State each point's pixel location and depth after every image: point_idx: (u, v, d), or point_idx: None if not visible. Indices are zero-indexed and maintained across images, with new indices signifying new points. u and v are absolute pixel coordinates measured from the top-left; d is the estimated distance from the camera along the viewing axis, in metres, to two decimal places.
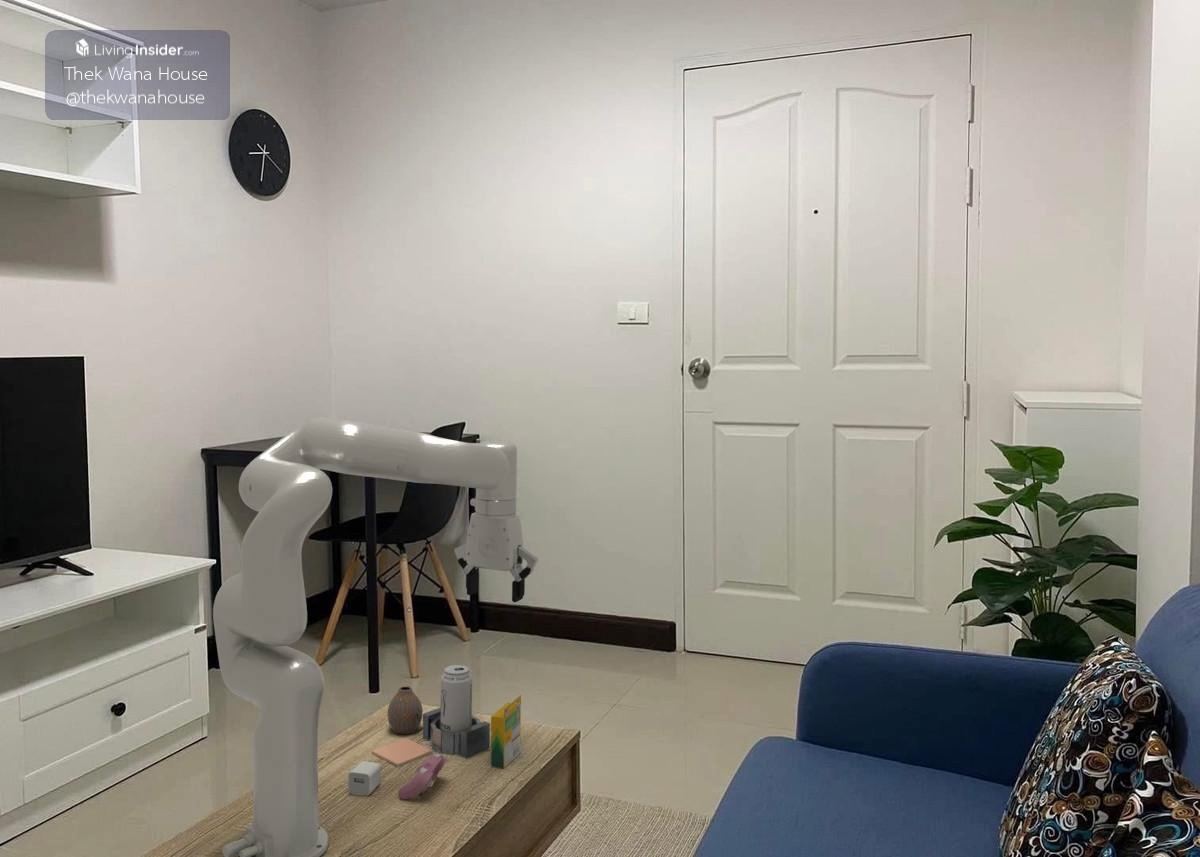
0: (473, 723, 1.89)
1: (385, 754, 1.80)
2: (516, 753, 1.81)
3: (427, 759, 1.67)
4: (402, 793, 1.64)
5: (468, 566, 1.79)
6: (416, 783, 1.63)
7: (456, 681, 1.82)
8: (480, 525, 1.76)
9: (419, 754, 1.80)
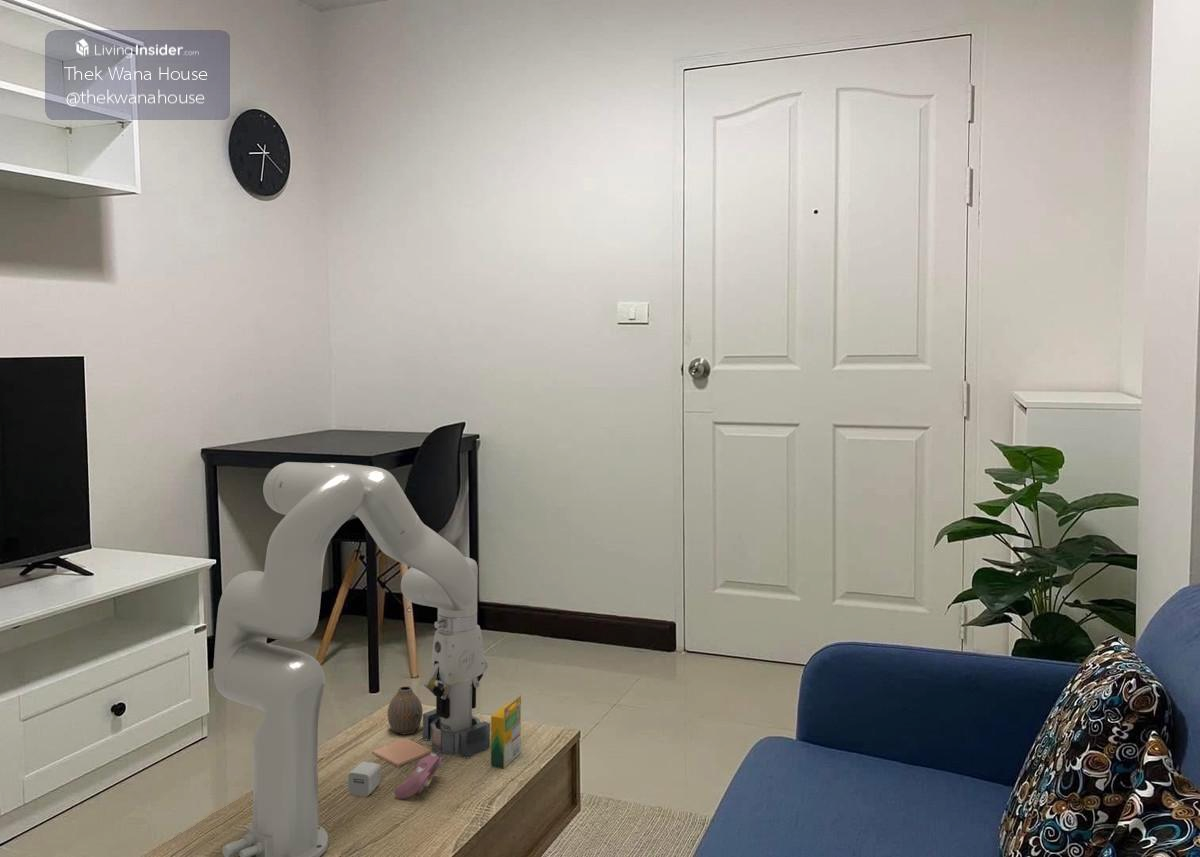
0: (473, 723, 1.89)
1: (385, 754, 1.80)
2: (516, 753, 1.81)
3: (423, 759, 1.67)
4: (398, 793, 1.64)
5: (447, 690, 1.82)
6: (412, 783, 1.63)
7: None
8: (459, 642, 1.81)
9: (419, 754, 1.80)
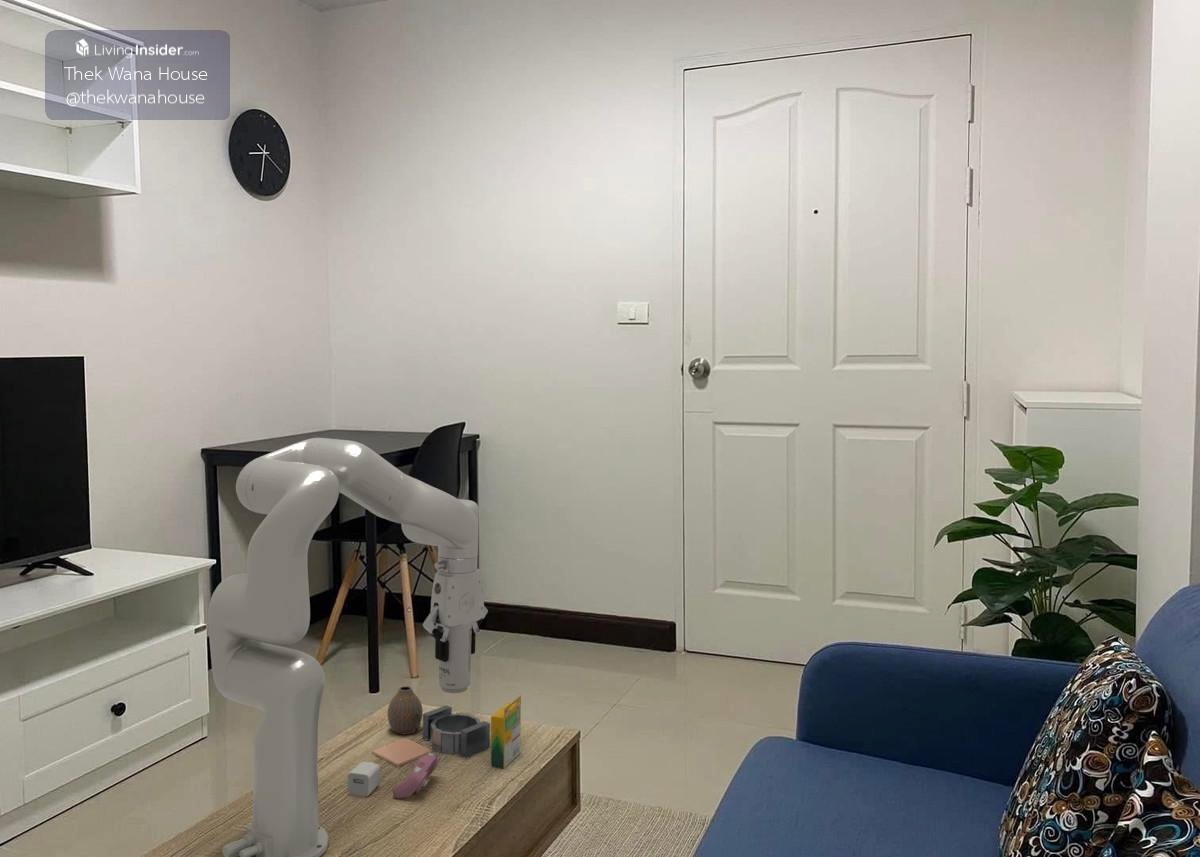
0: (473, 723, 1.89)
1: (385, 754, 1.80)
2: (516, 753, 1.81)
3: (421, 758, 1.67)
4: (396, 793, 1.64)
5: (446, 633, 1.80)
6: (410, 782, 1.63)
7: None
8: (459, 584, 1.80)
9: (419, 754, 1.80)
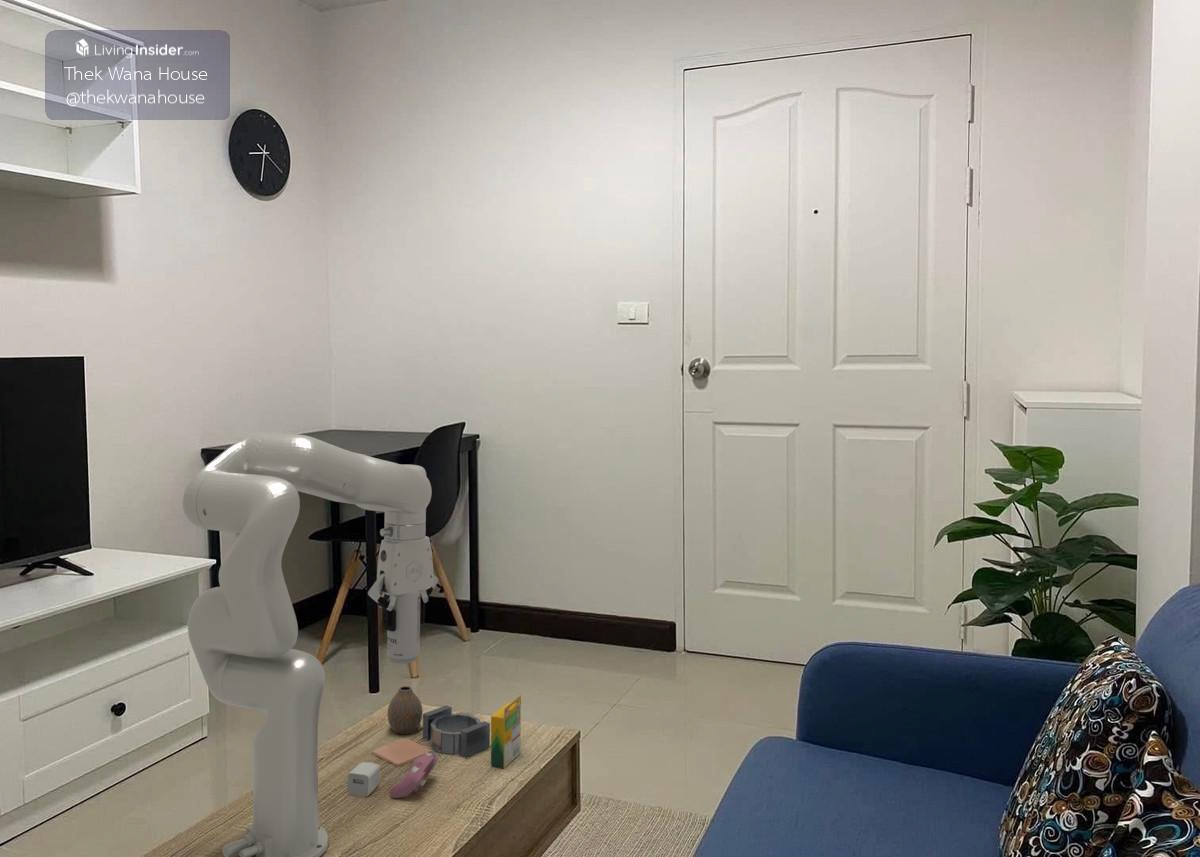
0: (473, 723, 1.89)
1: (385, 754, 1.80)
2: (516, 753, 1.81)
3: (419, 758, 1.67)
4: (393, 792, 1.64)
5: (393, 602, 1.75)
6: (408, 782, 1.63)
7: None
8: (406, 551, 1.74)
9: (419, 754, 1.80)
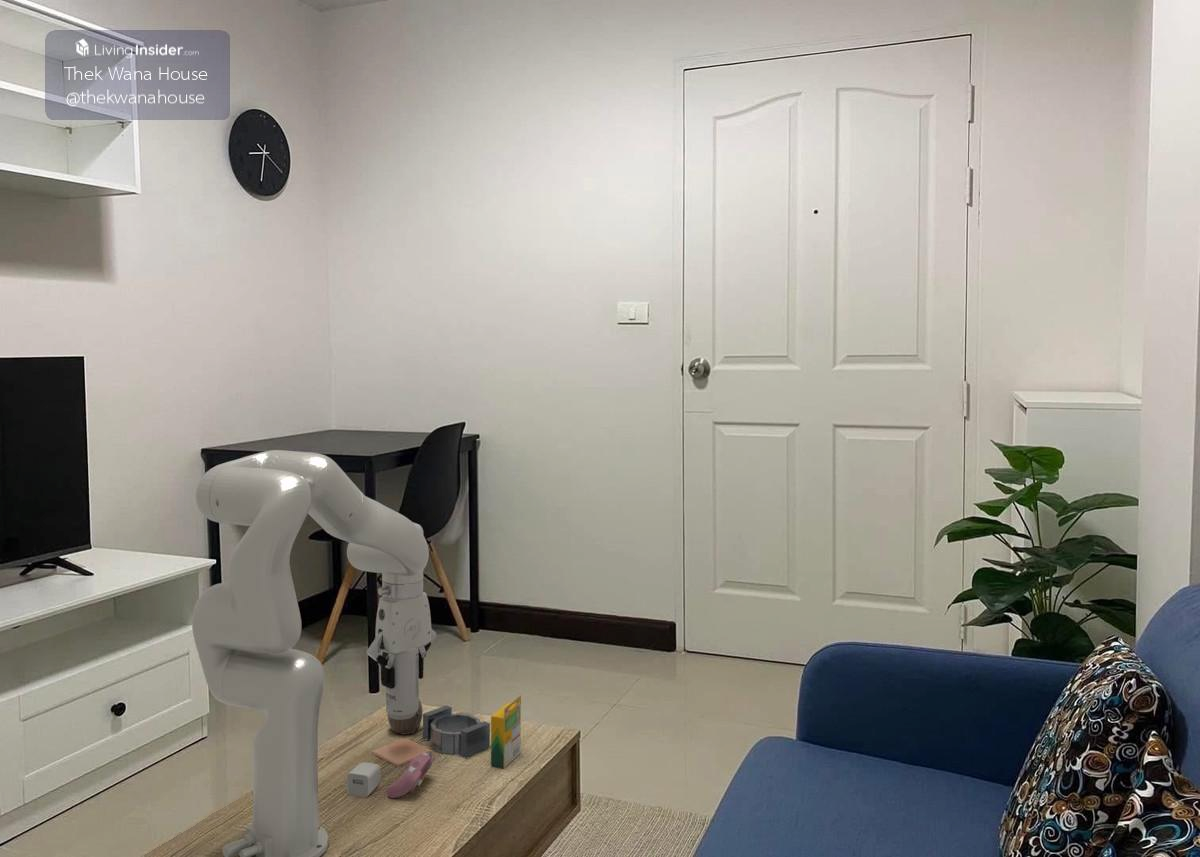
0: (473, 723, 1.89)
1: (385, 754, 1.80)
2: (516, 753, 1.81)
3: (415, 758, 1.67)
4: (390, 792, 1.64)
5: (391, 659, 1.76)
6: (405, 782, 1.63)
7: None
8: (404, 609, 1.75)
9: (419, 754, 1.80)
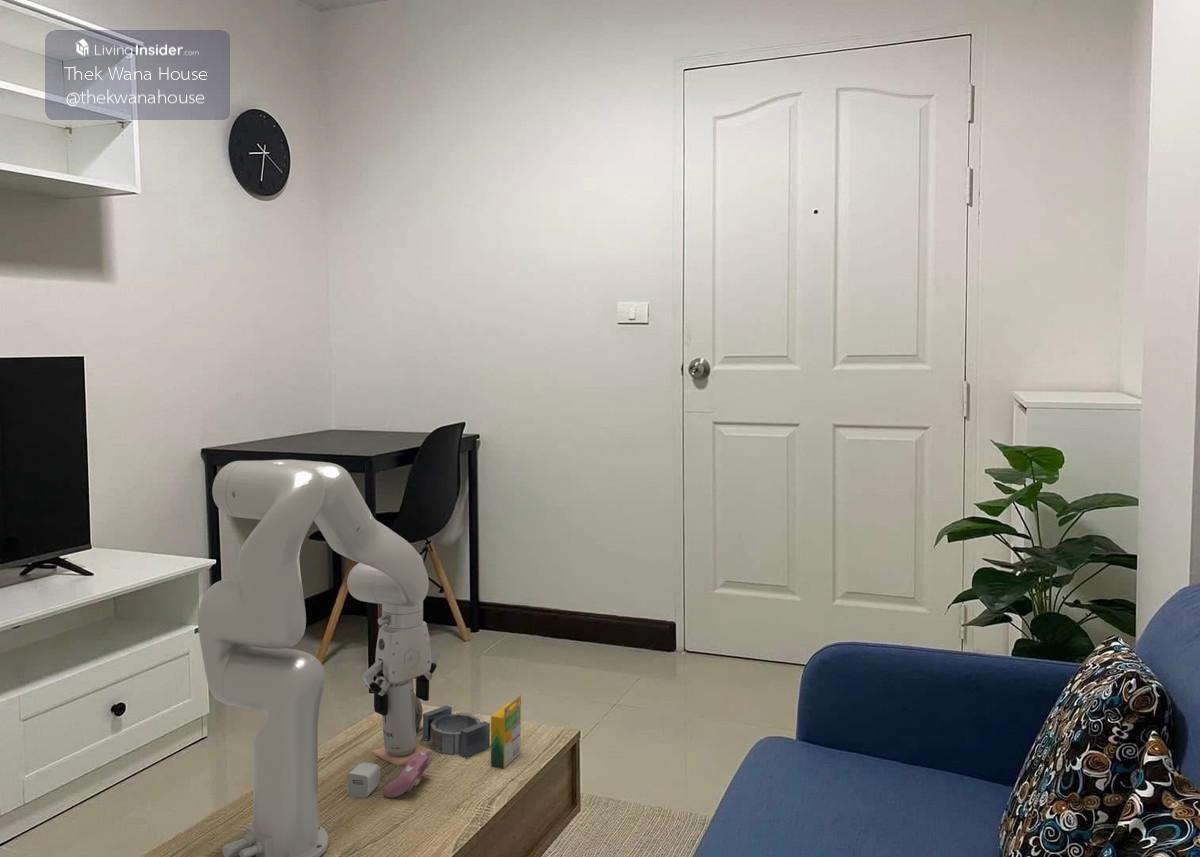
0: (473, 723, 1.89)
1: (385, 754, 1.80)
2: (516, 753, 1.81)
3: (413, 757, 1.67)
4: (387, 792, 1.64)
5: (385, 686, 1.75)
6: (402, 781, 1.63)
7: (395, 687, 1.77)
8: (404, 639, 1.76)
9: None
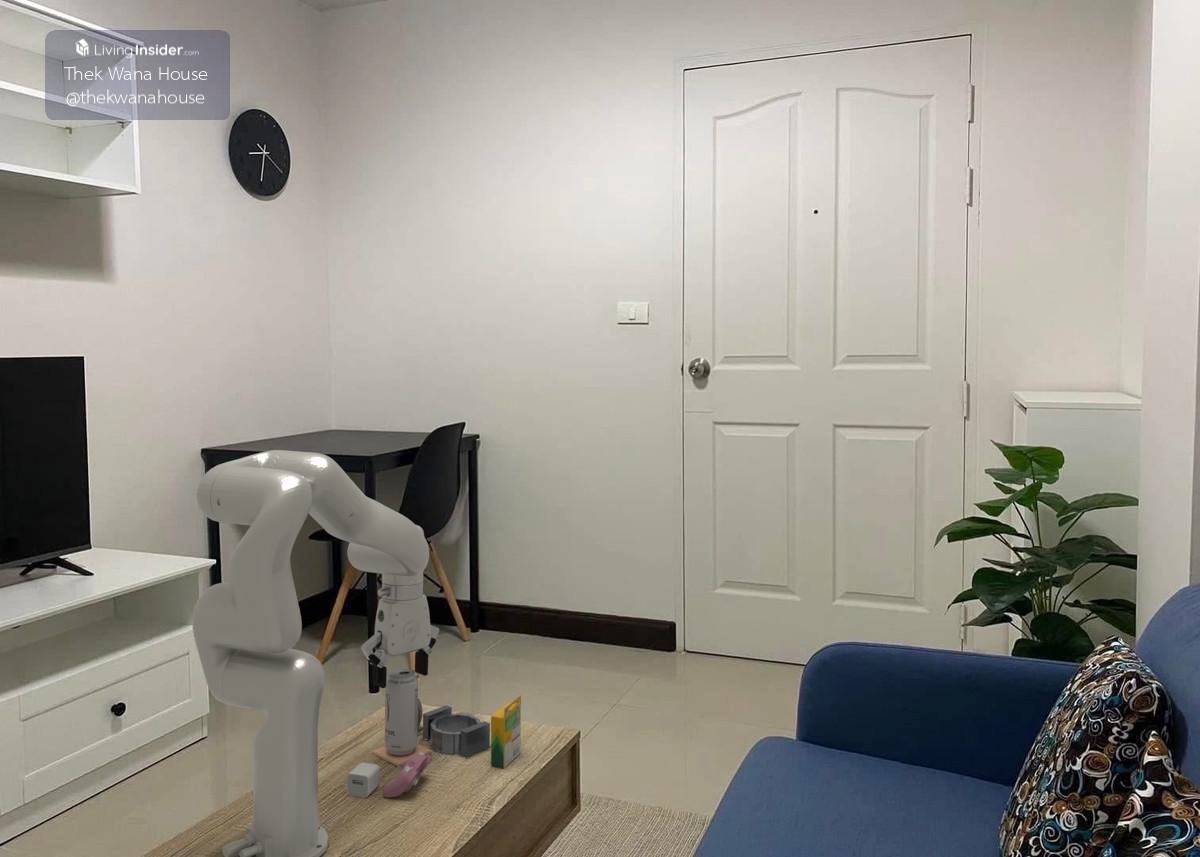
0: (473, 723, 1.89)
1: (385, 754, 1.80)
2: (516, 753, 1.81)
3: (411, 757, 1.67)
4: (386, 792, 1.64)
5: (384, 658, 1.74)
6: (400, 781, 1.63)
7: (400, 684, 1.78)
8: (403, 611, 1.75)
9: None
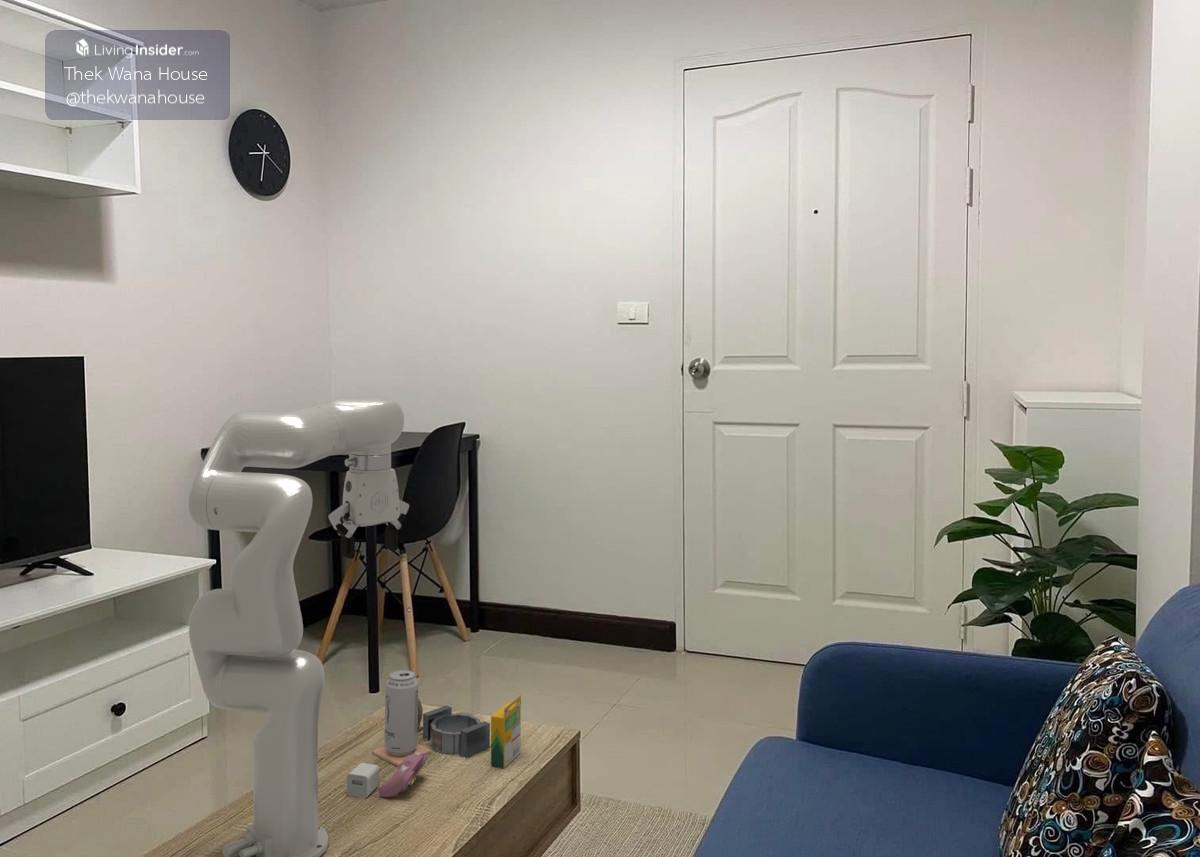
0: (473, 723, 1.89)
1: (385, 754, 1.80)
2: (516, 753, 1.81)
3: (408, 757, 1.67)
4: (382, 791, 1.64)
5: (351, 529, 1.74)
6: (397, 781, 1.63)
7: (400, 687, 1.77)
8: (371, 482, 1.75)
9: None
